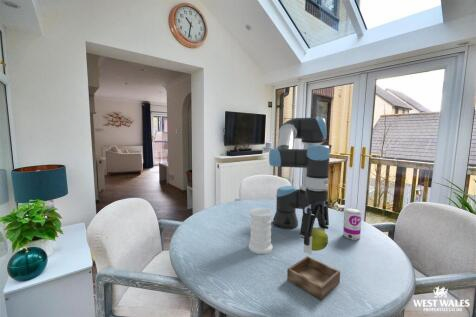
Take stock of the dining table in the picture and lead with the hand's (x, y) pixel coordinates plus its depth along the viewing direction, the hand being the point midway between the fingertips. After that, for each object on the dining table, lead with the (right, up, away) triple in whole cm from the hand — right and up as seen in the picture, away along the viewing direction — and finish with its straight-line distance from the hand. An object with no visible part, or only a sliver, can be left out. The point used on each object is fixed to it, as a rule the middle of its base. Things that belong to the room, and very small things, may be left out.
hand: (314, 248), depth 80 cm
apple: (0, 0, 0) cm, 0 cm away
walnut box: (0, -13, +1) cm, 13 cm away
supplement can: (+33, -9, +38) cm, 51 cm away
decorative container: (-17, -11, +26) cm, 33 cm away
